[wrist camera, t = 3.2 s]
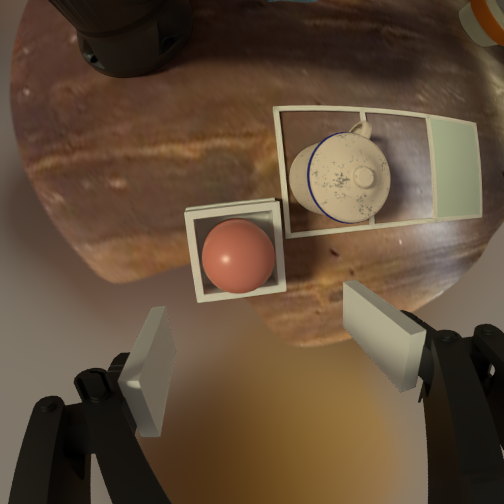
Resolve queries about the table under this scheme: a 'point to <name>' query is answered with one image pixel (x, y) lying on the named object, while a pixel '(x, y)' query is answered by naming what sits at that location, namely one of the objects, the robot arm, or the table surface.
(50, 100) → the table surface
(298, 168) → the teacup with lid
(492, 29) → the reusable coffee cup
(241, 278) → the red ball
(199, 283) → the grey square box
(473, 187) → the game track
